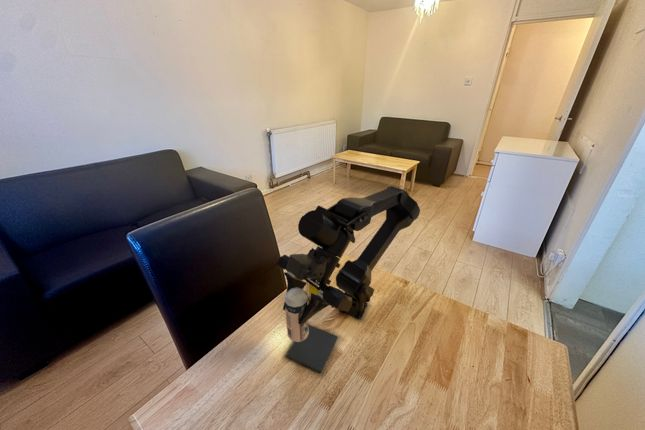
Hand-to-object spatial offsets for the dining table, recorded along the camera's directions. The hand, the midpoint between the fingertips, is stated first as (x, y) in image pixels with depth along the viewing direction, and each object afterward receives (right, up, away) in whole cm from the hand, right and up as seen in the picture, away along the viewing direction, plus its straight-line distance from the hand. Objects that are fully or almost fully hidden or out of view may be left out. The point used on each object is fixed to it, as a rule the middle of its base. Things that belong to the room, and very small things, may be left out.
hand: (291, 316), depth 55 cm
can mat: (+4, -11, +9) cm, 15 cm away
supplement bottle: (+5, -3, +25) cm, 25 cm away
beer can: (+1, -5, +4) cm, 7 cm away
